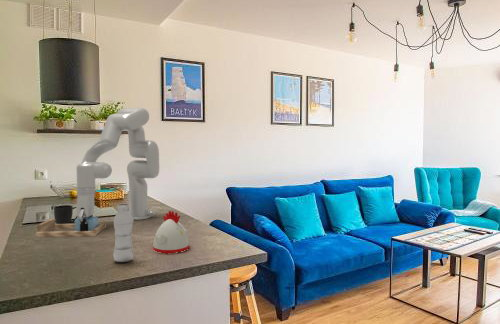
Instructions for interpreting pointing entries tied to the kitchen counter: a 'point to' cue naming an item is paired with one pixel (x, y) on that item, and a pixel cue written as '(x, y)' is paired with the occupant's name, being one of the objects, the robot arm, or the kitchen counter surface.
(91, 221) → the light blue block
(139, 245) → the kitchen counter surface
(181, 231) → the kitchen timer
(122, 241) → the plastic bottle
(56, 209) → the mug
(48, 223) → the tray
